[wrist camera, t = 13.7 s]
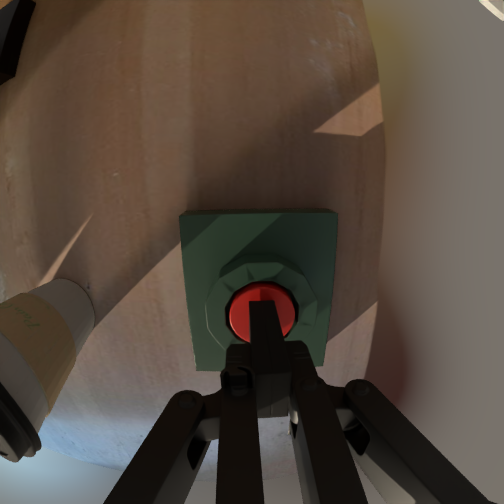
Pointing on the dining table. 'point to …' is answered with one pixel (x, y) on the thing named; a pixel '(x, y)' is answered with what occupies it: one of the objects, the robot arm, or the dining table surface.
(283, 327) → the button
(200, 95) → the dining table surface
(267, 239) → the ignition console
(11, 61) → the panel
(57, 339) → the coffee cup
